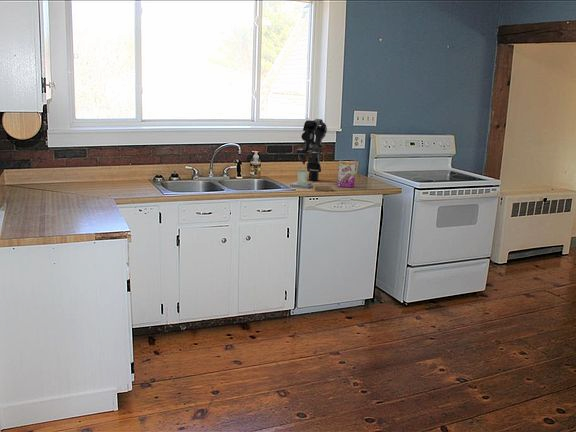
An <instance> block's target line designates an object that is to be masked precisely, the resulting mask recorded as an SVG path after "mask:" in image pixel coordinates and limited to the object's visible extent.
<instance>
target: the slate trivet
mask: <svg viewBox="0 0 576 432" xmlns="http://www.w3.org/2000/svg"><path fill="white" fill-rule="evenodd" d="M313 184H315V183H314V182H307V184H305V185H304V184H297V181H294V182H292V183H290V184H289V187H290V186H292V187H293V188H299V187H300V189H309V188H313ZM292 187H291V188H292Z"/></svg>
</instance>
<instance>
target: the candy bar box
mask: <svg viewBox="0 0 576 432" xmlns="http://www.w3.org/2000/svg"><path fill="white" fill-rule="evenodd" d="M337 168H338V171H337V180H336V181H337V182H336V183H337V185H336V187H341V188H352V189H353V188H355V183H356V182H355V180H356V179H355V178H356V168H357V162H356V161H345V160H339V161H338V167H337Z"/></svg>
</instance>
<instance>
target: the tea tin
mask: <svg viewBox="0 0 576 432" xmlns="http://www.w3.org/2000/svg"><path fill="white" fill-rule="evenodd" d="M308 172H309V171H308V170H307V169H303V168H299V169H297V181H296V182H297V184H304V185H305V184H307V183H308V180H307V179H308Z"/></svg>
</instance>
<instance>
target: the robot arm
mask: <svg viewBox="0 0 576 432" xmlns="http://www.w3.org/2000/svg"><path fill="white" fill-rule="evenodd" d="M302 131H303V132H302V134H301V140H302V141H303V143H304V146H305V147H303V148H297V149H296V153H297V155H298V156H299V157H300V160H301V162H302V165H306V170H308V171H307V172H308V178H307V181H310V182H320V181H321V180H320V179H319V175H320V173H322V167H321V162H320V160H319V159H320V158H319V157H320V154H321V153H323V144H322V142H323V139H324V138H325V137H326V134H327V132H328V126H327V124H326V123H325V122H324V121H323V119H321V118H314V120H311V119H310V120H309V119H307V120H305V122H304V125H303V129H302ZM308 153H310V154H311V156H309V158H308V160H307V163H306V158H307V156H308Z"/></svg>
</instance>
